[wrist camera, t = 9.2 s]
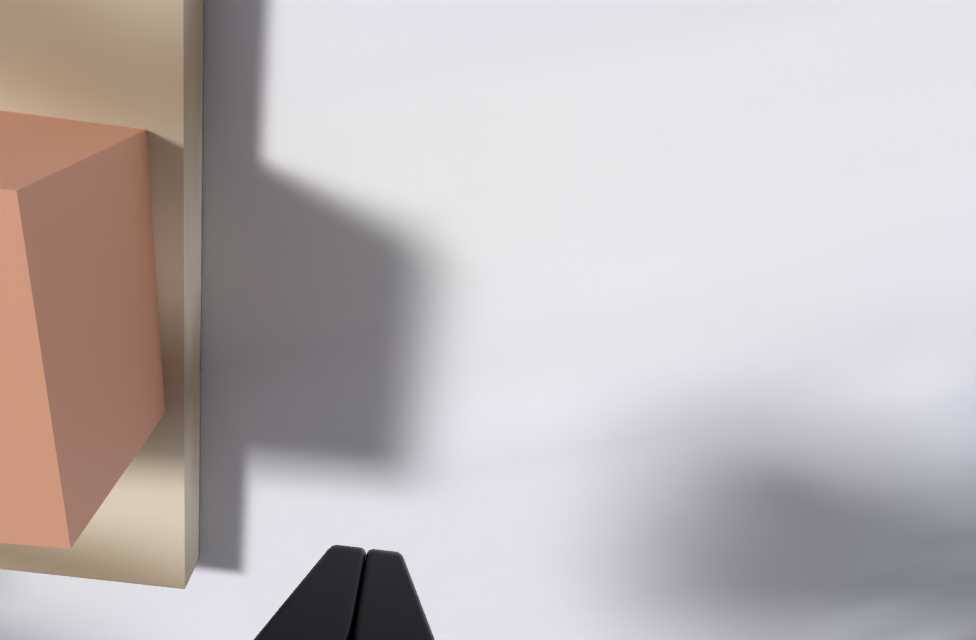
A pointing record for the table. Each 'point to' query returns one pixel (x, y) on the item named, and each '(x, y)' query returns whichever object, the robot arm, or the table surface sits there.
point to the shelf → (177, 246)
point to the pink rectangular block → (73, 321)
